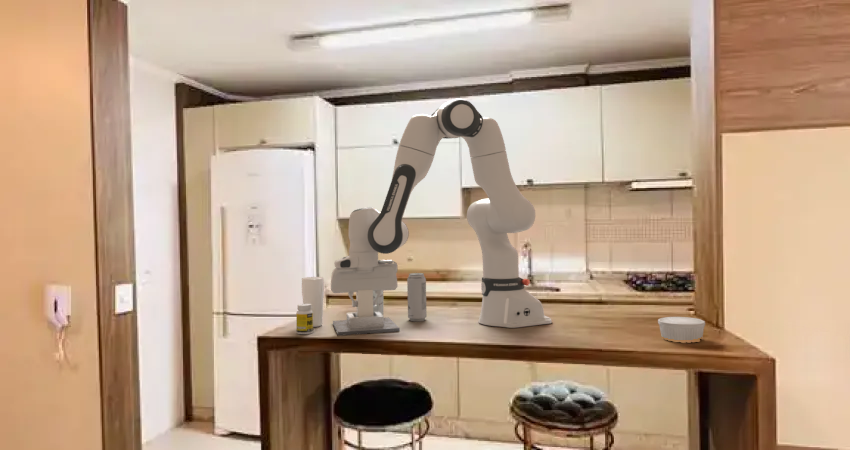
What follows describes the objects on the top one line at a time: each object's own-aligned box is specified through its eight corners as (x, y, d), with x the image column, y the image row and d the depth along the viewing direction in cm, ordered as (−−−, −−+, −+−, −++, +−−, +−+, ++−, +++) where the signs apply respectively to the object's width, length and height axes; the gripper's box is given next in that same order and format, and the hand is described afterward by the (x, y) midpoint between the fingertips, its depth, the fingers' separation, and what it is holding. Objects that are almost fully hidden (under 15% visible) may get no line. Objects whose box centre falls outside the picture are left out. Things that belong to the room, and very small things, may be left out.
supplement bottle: (309, 334, 163) (308, 305, 163) (293, 334, 164) (293, 305, 164) (315, 331, 168) (315, 303, 168) (300, 331, 169) (300, 303, 169)
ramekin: (649, 338, 152) (648, 318, 152) (679, 334, 156) (679, 315, 156) (683, 346, 141) (682, 325, 141) (714, 342, 146) (714, 321, 146)
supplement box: (357, 320, 185) (356, 281, 184) (363, 316, 192) (362, 279, 192) (379, 320, 183) (378, 281, 183) (384, 316, 191) (383, 279, 190)
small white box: (371, 316, 175) (370, 287, 175) (373, 319, 170) (372, 289, 170) (356, 317, 174) (356, 288, 174) (358, 320, 169) (357, 290, 169)
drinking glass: (314, 323, 181) (313, 276, 181) (329, 325, 177) (328, 277, 177) (298, 326, 176) (297, 278, 175) (313, 328, 172) (312, 279, 171)
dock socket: (388, 320, 183) (388, 308, 183) (399, 331, 166) (399, 317, 165) (332, 324, 179) (332, 311, 179) (337, 335, 161) (337, 321, 161)
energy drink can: (410, 318, 187) (409, 272, 186) (428, 318, 186) (427, 272, 185) (406, 321, 181) (405, 274, 181) (424, 321, 180) (423, 274, 179)
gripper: (395, 258, 177) (396, 302, 178) (329, 261, 172) (330, 306, 173) (399, 260, 171) (400, 305, 171) (331, 262, 166) (332, 309, 167)
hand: (364, 306), depth 172 cm, fingers open, 5 cm apart
